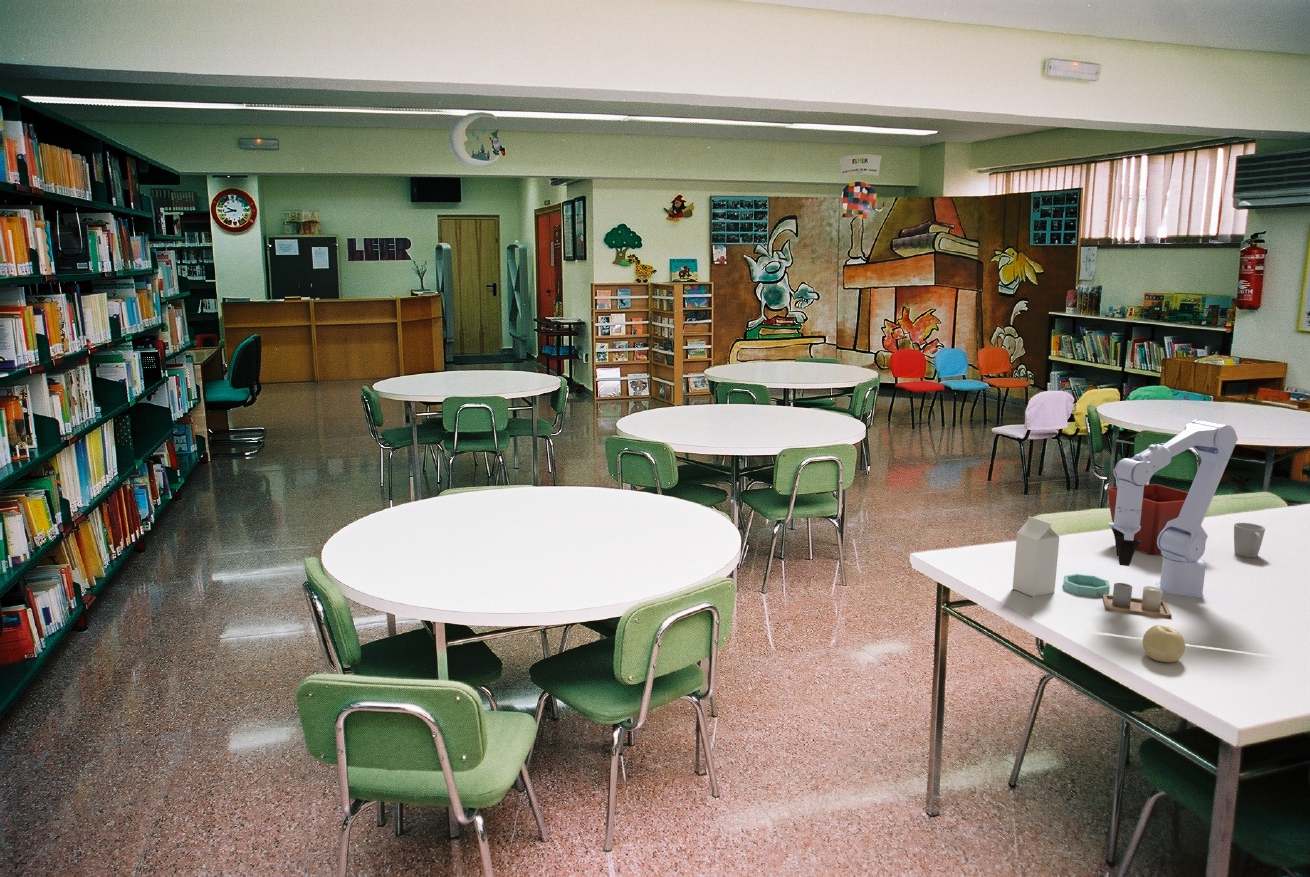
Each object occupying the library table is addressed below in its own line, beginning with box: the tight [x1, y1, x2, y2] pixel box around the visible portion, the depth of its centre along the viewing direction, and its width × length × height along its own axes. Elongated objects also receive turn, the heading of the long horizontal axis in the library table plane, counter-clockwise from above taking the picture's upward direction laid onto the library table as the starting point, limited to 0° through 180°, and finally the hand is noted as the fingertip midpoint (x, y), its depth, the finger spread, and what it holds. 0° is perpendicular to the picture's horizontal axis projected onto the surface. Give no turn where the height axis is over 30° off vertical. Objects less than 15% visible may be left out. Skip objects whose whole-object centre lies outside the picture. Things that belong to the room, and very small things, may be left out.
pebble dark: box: [1112, 582, 1133, 608], centre depth 225 cm, size 4×4×5 cm
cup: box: [1233, 522, 1266, 558], centre depth 266 cm, size 8×10×8 cm
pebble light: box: [1141, 585, 1163, 612], centre depth 223 cm, size 4×4×5 cm
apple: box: [1142, 624, 1186, 663], centre depth 196 cm, size 8×8×8 cm
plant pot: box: [1107, 483, 1191, 556], centre depth 272 cm, size 19×19×17 cm
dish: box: [1063, 573, 1111, 598], centre depth 237 cm, size 10×10×3 cm
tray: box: [1101, 594, 1172, 619], centre depth 225 cm, size 14×10×1 cm
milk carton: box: [1012, 515, 1060, 598], centre depth 235 cm, size 7×7×19 cm
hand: (1122, 560), depth 230 cm, fingers open, 7 cm apart
